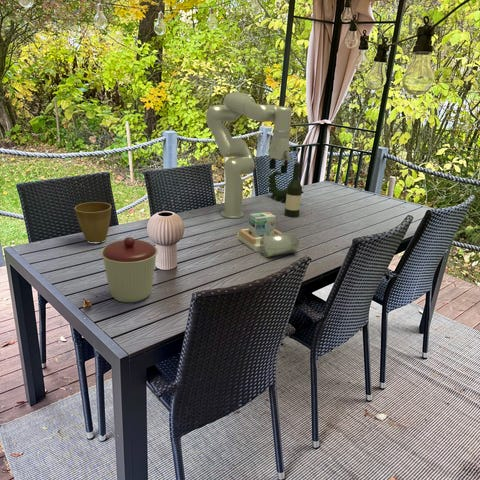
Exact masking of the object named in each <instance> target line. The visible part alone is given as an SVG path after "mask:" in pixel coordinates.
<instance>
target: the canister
mask: <svg viewBox="0 0 480 480" xmlns="http://www.w3.org/2000/svg"><path fill="white" fill-rule="evenodd" d="M158 252H159V251H158V248H157V246H155V245H154V244H152V243H150V242H148V241H144V240H139V239H134V238H133V237H130V236H129V237H128V236H127V237H125V238H124V239H123V240H122V239H121V240H118V241H115V242H111V243H110V244H108V245H105V246H104V247H103V248H102V249H101V251H100V256H101V257H102V259H103V263H104V268H105V273H106V279H107V283H108V284H107V285H108V289H109V292H110V294H111V296H112V297H113V298H114V299H115V300H116V301H119V302H120V303H121V302H122V303H135V302H140V301H143V300H145V299H146V298H148V297H149V296H150V293H151V292H152V288H153V284H154V283H153V282H154V274H155V264H156V257H157V254H158Z"/></svg>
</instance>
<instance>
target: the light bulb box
mask: <svg viewBox="0 0 480 480" xmlns="http://www.w3.org/2000/svg"><path fill="white" fill-rule="evenodd" d="M276 219H277V216H276V215H274V214H273V213H271V212H270V211H266V212H257V213H250V214H249V221H248V228H249V231H248V234H249V235H251V236H252V237H254V238H257V237H263V236H269V235H274V230H275V229H276Z"/></svg>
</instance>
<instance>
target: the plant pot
mask: <svg viewBox="0 0 480 480" xmlns="http://www.w3.org/2000/svg"><path fill="white" fill-rule="evenodd" d="M74 213H75V215H76V219H77V222H78V224H79V227H80V230H81V232H82V234H83V236H84V238H85V240H86V242H87V241H89V242H102V241H104V240H105V241H106V239H107V236H108V233H109V229H110V228H109V227H110V223H111V215H112V205H111V204H110V203H107V202H103V201H91V202H89V201H88V202H83V203H80V204H77V205H75V207H74Z"/></svg>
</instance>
